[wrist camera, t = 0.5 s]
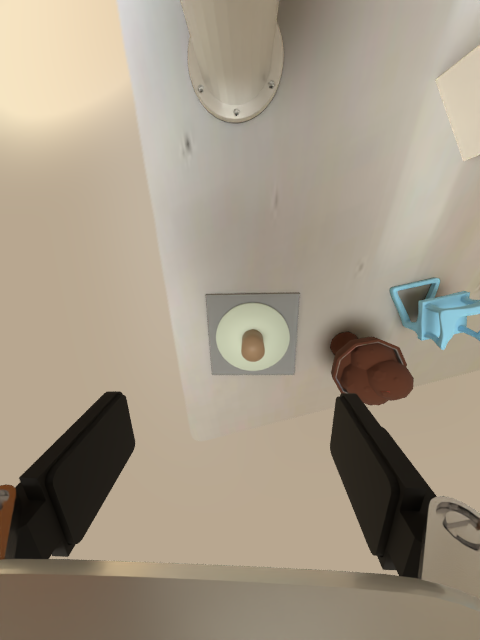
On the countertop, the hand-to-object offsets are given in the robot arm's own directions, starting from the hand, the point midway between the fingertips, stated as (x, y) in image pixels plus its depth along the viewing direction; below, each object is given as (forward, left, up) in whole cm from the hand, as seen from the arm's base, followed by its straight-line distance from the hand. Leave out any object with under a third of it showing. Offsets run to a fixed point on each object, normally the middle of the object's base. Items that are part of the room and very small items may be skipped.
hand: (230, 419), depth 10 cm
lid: (+10, +1, -32) cm, 33 cm away
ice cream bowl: (+12, +19, -33) cm, 40 cm away
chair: (+4, +30, -33) cm, 45 cm away
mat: (+10, +1, -32) cm, 34 cm away
